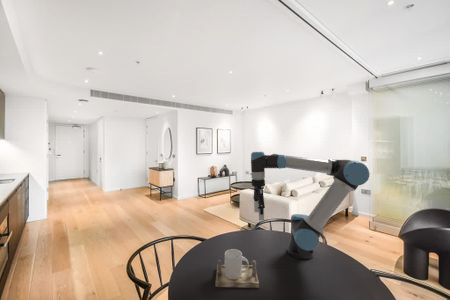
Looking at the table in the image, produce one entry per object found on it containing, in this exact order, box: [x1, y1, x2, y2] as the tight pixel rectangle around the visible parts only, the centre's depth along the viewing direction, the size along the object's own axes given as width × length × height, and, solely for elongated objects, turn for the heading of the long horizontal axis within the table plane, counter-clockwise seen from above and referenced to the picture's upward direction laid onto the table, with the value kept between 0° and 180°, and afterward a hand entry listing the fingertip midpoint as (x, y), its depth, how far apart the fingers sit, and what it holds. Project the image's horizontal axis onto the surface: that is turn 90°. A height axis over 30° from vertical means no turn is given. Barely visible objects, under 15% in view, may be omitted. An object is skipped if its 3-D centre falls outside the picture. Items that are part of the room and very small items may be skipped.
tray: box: [215, 259, 260, 289], centre depth 101 cm, size 20×14×8 cm
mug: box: [224, 248, 250, 280], centre depth 101 cm, size 9×12×11 cm
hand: (259, 215), depth 117 cm, fingers open, 13 cm apart
